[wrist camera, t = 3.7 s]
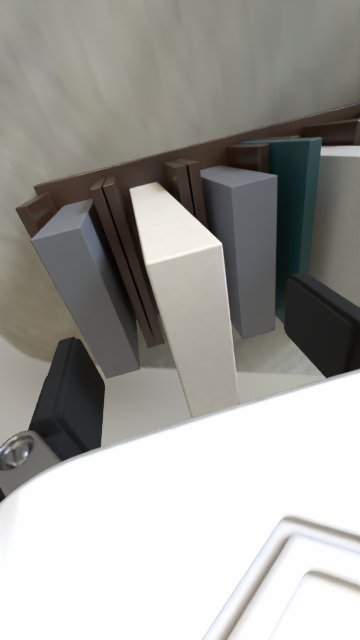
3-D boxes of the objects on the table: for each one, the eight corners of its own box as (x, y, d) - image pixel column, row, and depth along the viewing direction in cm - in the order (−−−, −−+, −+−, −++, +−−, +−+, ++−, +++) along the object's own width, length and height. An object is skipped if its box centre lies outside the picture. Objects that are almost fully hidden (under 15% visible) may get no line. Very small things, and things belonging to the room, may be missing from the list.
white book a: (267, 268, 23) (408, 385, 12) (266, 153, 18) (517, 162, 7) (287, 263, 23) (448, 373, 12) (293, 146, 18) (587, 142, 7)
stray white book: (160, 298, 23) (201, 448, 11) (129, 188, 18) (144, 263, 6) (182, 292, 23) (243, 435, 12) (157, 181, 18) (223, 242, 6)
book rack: (103, 323, 24) (95, 399, 17) (37, 184, 17) (-24, 211, 10) (397, 241, 25) (508, 279, 18) (444, 80, 19) (656, 36, 11)
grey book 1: (110, 312, 23) (106, 379, 16) (63, 205, 17) (29, 240, 11) (134, 305, 23) (140, 369, 16) (95, 197, 18) (80, 227, 11)
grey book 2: (208, 285, 23) (242, 339, 16) (190, 172, 18) (230, 187, 11) (231, 278, 23) (275, 330, 17) (220, 164, 18) (277, 175, 11)
